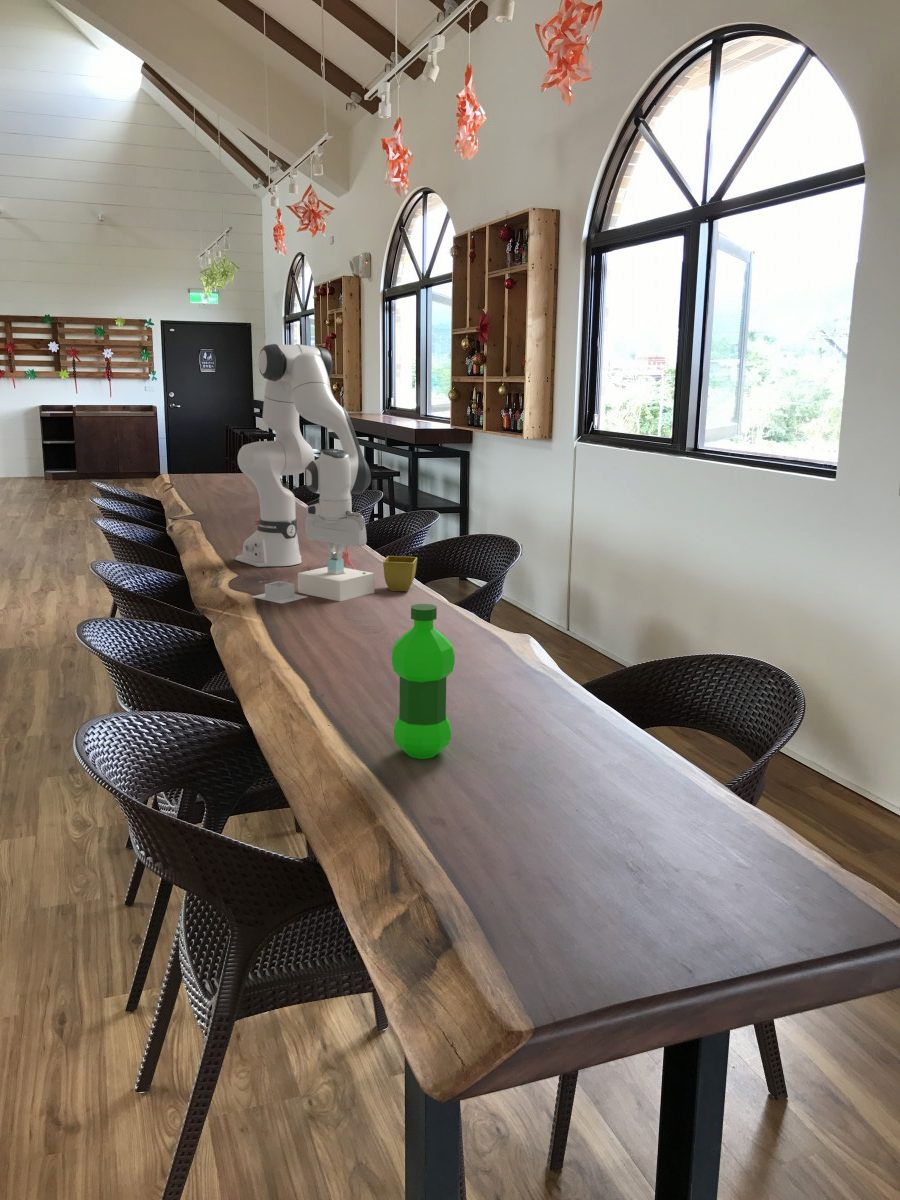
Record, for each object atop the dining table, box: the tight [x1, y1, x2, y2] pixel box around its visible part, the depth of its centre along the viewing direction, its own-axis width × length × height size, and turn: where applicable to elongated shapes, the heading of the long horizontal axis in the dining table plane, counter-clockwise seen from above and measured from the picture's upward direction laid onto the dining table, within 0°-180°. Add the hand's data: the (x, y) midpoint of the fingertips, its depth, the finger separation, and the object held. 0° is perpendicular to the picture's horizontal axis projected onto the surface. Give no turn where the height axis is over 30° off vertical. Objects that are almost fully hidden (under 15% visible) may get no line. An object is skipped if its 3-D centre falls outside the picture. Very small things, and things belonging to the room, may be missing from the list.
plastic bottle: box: [391, 603, 456, 760], centre depth 156 cm, size 10×10×25 cm
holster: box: [250, 581, 308, 604], centre depth 261 cm, size 12×10×4 cm
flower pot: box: [382, 555, 418, 592], centre depth 274 cm, size 9×9×9 cm
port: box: [297, 566, 375, 602], centre depth 267 cm, size 16×14×6 cm
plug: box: [326, 557, 345, 575], centre depth 267 cm, size 3×3×9 cm
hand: (336, 558), depth 266 cm, fingers closed, pressing on plug
